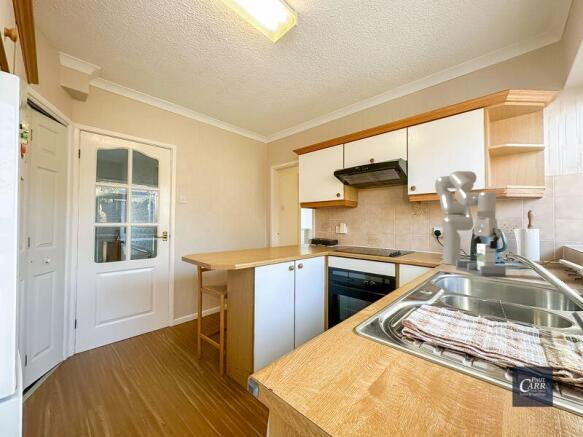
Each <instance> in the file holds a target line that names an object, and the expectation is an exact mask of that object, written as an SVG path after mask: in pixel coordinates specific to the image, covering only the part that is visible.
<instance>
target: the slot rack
mask: <svg viewBox="0 0 583 437" xmlns="http://www.w3.org/2000/svg"><path fill="white" fill-rule="evenodd" d="M455 269H456V270H457V271H460V270H461V271H460V272H464V273H465V272H466V273H469V274H472V275H475V276H480V277H506V272H507V271H506V266H505V265H502V266H501V265H499V266H498V265H495V266H480V271H479V270H477V260H460V261H456V265H455Z"/></svg>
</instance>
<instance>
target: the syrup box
mask: <svg viewBox="0 0 583 437" xmlns="http://www.w3.org/2000/svg"><path fill="white" fill-rule="evenodd" d="M476 261H477V270H479V271H480V266H496V249H490V243H481V244H477V246H476Z"/></svg>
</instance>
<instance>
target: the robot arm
mask: <svg viewBox="0 0 583 437" xmlns="http://www.w3.org/2000/svg"><path fill="white" fill-rule="evenodd" d="M476 182H477V175H476V173H475V172H474V171H469V170H467V171H466V170H458V171H457V170H456V171H453V172H452V173H450V174H449V175H444V176H440V177H438V178H436V180H435V184H434V188H435V192H436V194H437V196H438V198H439V203H440V208H441V212H442V214H443V215H445V217H443V218H442V220H441V226H442V232H443V233H442V234H443V240H442V241H443V243H442V244H443V245H442V246H443V247H442V250H443V252H442V256H440V259H442V260H440V263H441V264H444V265H453V266H456V261H461V244H462V243H461V236H460V233H459V232H458V231H467V232H468V231H471V233H472V236H473V239H474V247H477V244H482V239H481V238H482V237H484V238H489V239H490V241H489V244H490V249H495V250H496V249H498V242H499V240H500V239H501V236H502V235H503V233H502V231H499V230H498V221H497V217H496V214H497V212H496V209H497V207H496V206H497V193H496V192H494V191H483V192H482V191H481V192H471V191H472V190H473V188H474V186H475V185H474V184H475V183H476ZM449 189H455V192H454V194H453V192H451V191H450V190H449ZM471 207H477V213H476V214H477V217H476V218H475V221H474V220H473V216H472V212H471Z"/></svg>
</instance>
